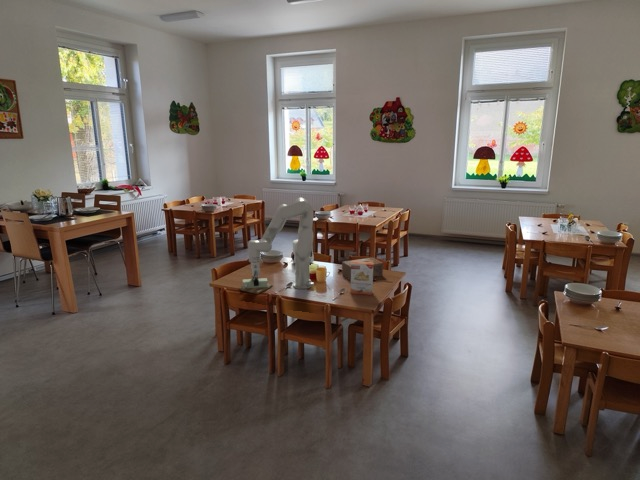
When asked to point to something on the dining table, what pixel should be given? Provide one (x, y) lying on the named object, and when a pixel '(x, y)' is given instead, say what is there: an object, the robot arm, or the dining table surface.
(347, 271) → the tissue box cover
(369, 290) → the cracker box
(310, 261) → the milk container
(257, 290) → the board
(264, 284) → the flange bar
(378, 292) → the dining table surface
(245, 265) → the dining table surface
